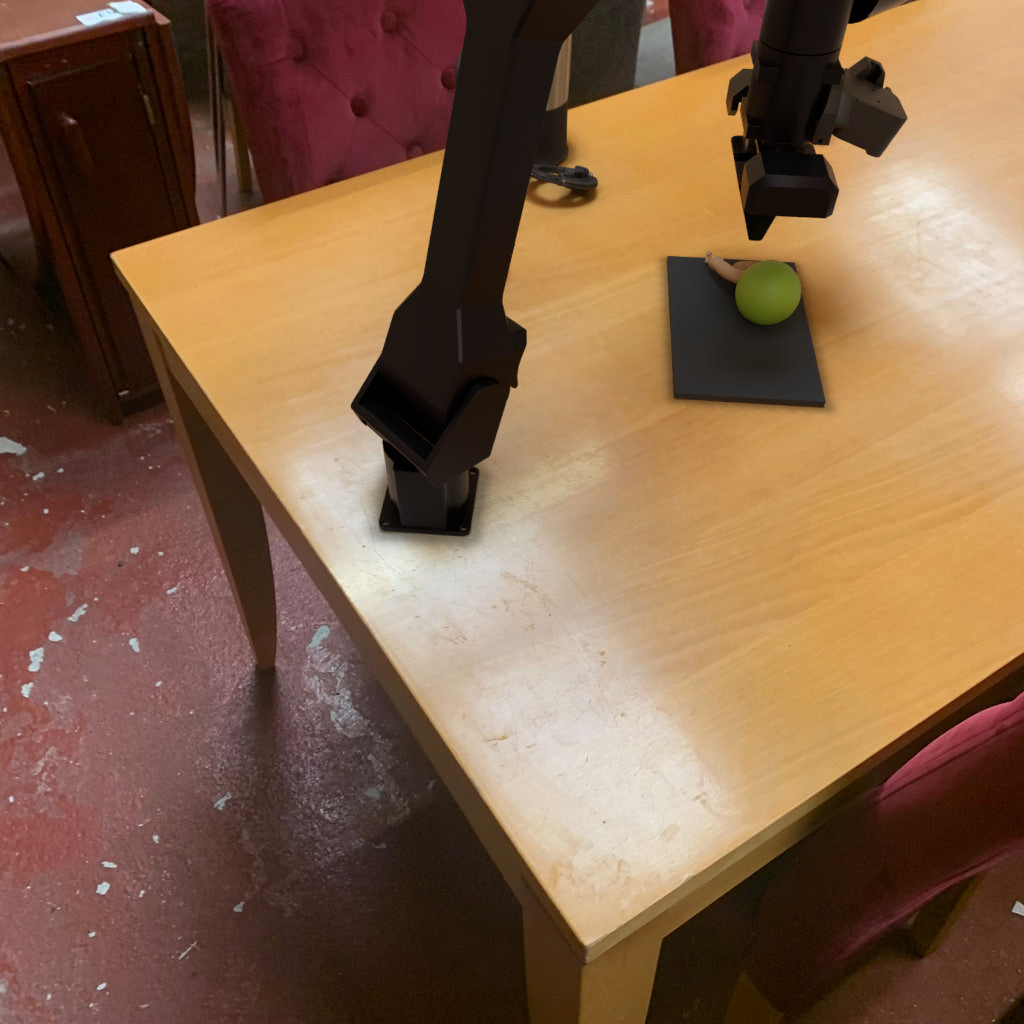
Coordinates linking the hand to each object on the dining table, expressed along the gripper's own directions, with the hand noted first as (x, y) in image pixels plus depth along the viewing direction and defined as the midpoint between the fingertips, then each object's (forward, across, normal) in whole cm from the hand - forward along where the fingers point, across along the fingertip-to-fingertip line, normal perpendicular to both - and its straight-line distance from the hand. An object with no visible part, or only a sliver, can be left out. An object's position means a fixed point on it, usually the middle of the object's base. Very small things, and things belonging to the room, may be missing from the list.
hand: (754, 238), depth 74 cm
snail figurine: (+3, -4, -2) cm, 6 cm away
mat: (+8, -2, 0) cm, 8 cm away
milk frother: (+8, +25, +19) cm, 32 cm away
